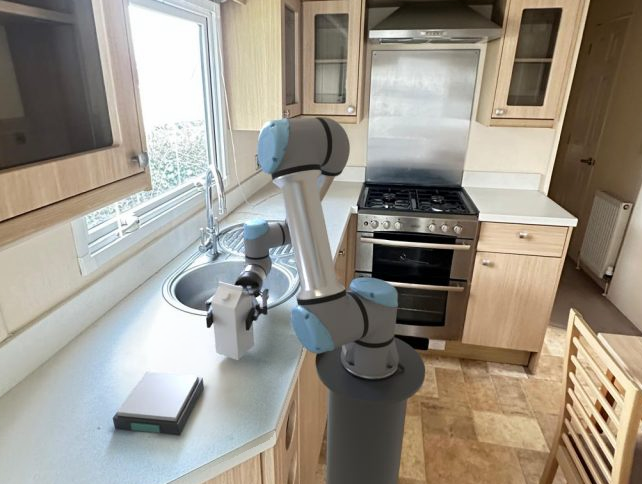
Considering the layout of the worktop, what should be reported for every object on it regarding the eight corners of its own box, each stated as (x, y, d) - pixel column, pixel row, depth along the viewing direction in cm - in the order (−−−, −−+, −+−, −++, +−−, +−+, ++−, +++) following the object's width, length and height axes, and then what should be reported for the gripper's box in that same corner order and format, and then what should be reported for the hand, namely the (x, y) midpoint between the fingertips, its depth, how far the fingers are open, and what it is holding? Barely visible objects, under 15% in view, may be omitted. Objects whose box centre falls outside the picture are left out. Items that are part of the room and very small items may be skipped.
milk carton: (232, 338, 111) (227, 275, 104) (254, 345, 108) (250, 281, 101) (216, 353, 105) (209, 287, 98) (238, 361, 102) (233, 293, 95)
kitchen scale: (203, 387, 95) (202, 374, 94) (178, 437, 82) (176, 422, 81) (147, 383, 97) (144, 369, 96) (113, 430, 84) (110, 415, 82)
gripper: (287, 295, 119) (272, 340, 98) (215, 291, 122) (186, 334, 101) (286, 272, 117) (271, 313, 96) (213, 269, 119) (182, 308, 98)
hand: (227, 324), depth 98 cm, fingers closed on milk carton, 9 cm apart
